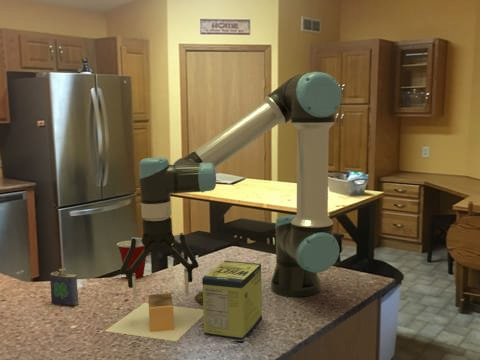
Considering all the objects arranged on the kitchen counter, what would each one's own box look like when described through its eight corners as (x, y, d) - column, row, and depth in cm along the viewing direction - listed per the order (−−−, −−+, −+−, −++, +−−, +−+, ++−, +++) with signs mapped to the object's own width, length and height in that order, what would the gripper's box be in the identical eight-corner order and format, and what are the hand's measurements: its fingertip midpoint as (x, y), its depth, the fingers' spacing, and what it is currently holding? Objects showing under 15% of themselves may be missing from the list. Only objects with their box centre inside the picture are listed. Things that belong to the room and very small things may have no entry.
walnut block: (171, 292, 141) (173, 306, 132) (172, 314, 142) (174, 329, 132) (148, 294, 140) (148, 308, 131) (149, 316, 141) (150, 331, 131)
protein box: (262, 319, 140) (261, 262, 138) (243, 344, 126) (241, 281, 123) (226, 314, 144) (224, 259, 142) (203, 338, 129) (201, 277, 127)
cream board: (209, 313, 145) (208, 310, 144) (176, 345, 126) (176, 341, 126) (144, 306, 151) (144, 302, 151) (104, 334, 133) (104, 331, 133)
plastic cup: (154, 271, 183) (153, 237, 182) (146, 281, 173) (144, 246, 171) (124, 271, 184) (122, 237, 183) (114, 281, 174) (112, 246, 172)
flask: (80, 303, 154) (77, 268, 153) (73, 307, 152) (71, 271, 150) (55, 300, 158) (52, 265, 156) (48, 303, 155) (45, 268, 154)
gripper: (203, 211, 142) (206, 287, 145) (108, 218, 137) (113, 295, 140) (206, 217, 134) (210, 296, 137) (106, 224, 130) (112, 306, 133)
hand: (161, 296), depth 139 cm, fingers open, 13 cm apart
